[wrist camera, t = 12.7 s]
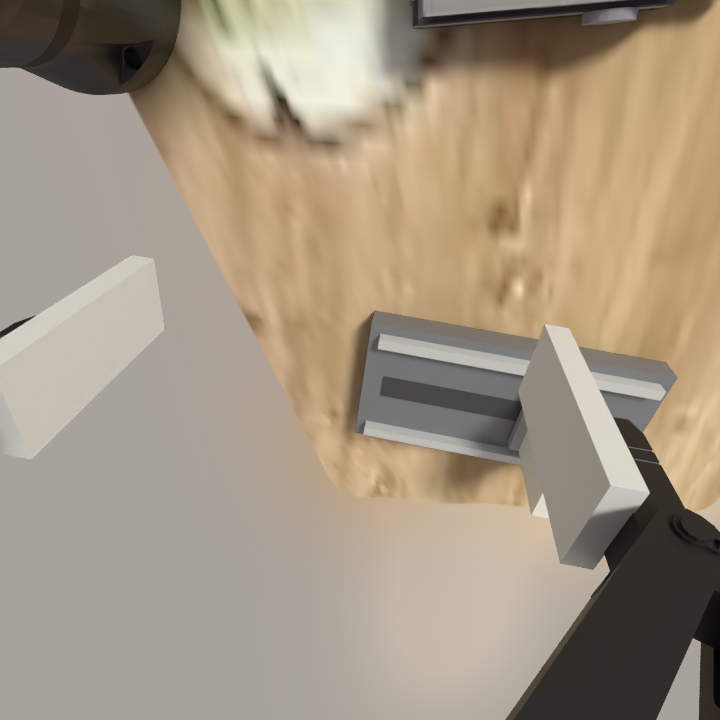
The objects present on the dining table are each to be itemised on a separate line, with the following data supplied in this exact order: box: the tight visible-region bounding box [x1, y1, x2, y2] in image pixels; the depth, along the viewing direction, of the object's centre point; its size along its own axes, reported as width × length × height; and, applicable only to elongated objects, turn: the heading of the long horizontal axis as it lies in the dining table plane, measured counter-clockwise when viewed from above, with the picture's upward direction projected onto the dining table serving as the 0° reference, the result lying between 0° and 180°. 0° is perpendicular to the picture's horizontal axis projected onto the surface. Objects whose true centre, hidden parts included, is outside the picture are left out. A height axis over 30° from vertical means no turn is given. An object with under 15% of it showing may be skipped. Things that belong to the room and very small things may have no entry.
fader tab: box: [508, 409, 549, 519], centre depth 41 cm, size 6×8×9 cm
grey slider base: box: [355, 311, 678, 465], centre depth 45 cm, size 28×14×4 cm, turn 83°
